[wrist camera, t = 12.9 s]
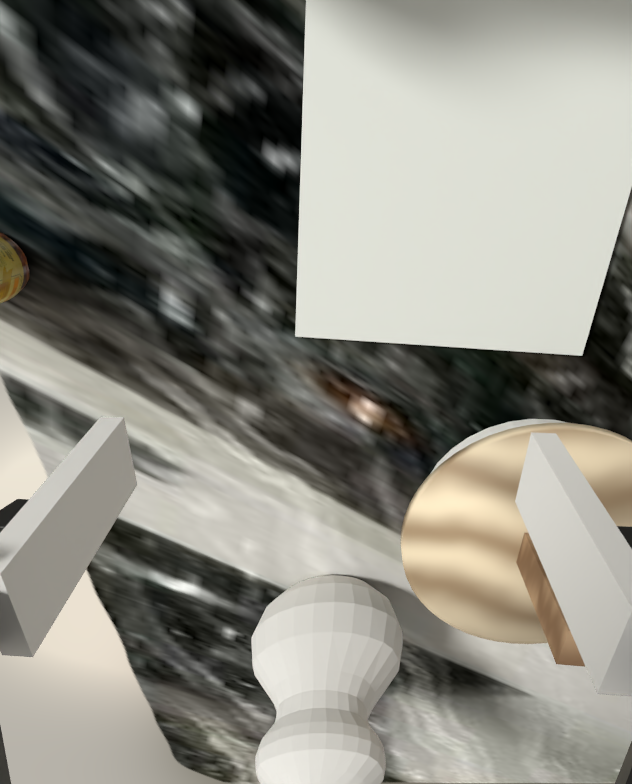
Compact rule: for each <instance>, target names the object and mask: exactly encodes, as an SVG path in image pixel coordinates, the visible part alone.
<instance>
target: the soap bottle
mask: <svg viewBox="0 0 632 784" xmlns="http://www.w3.org/2000/svg"><path fill="white" fill-rule="evenodd" d="M251 639H252V662H253V669H254V674H255V676H256V678H257V679H258V681H259V682H260V684H261V685H262V687H263V688H264V690H265V691H266V693H267V694H268V696H269V697H270V699H271V700H272V702H273V703H274V705H275V708H276V711H277V715H276V720H275V723H274V725H273V726H272V727H271V728H270V730H269V731H268V732H267V733H266V735H265V736H264V737H263V738H262V741H261V743H260V745H259V748H258V751H257V754H256V757H255V760H256V773H257V777H258V780H259V781H260V783H261V784H381V782H382V781H383V779H384V773H385V767H386V762H385V754H384V749H383V745H382V743H381V741H380V739H379V737H378V736H377V734H376V733H375V732H374V731H373V729H372V728H371V727H370V726H369V723H368V717H369V715H370V713H371V711H372V709H373V707H374V706H375V704H376V703H377V701H378V700H379V699H380V697H381V696H382V694H383V693H384V691H385V690H386V688H387V687H388V686H389V684H390V683H391V681H392V680H393V678H394V677H395V676H396V674H397V673H398V671H399V666H400V659H401V653H402V646H403V631H402V629H401V626H400V624H399V622H398V619H397V617H396V614H395V612H394V610H393V607H392V605H391V603H390V601H389V599H388V598H387V597H385V596H384V595H383V594H381V593H380V592H379V591H377V590H376V589H374V588H373V587H371V586H370V585H368V584H367V583H366V582H364V581H362V580H359V579H357V578H354V577H348V576H340V575H325V576H318V577H313V578H309V579H306V580H303V581H301V582H298V583H296V584H295V585H293V586H291V587H290V588H288V589H287V590H286V591H285V592H283V593H282V594H281V595H280V596H278V597H277V598H276V599H275V600H274V601H272V602H271V603H270V604H269V605H268V606H267V607H266V609H265V611H264V613H263V615H262V617H261V619H260V621H259V623H258V625H257V627H256V629H255V632H254V634H253V636H252V638H251Z"/></svg>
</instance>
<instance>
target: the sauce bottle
mask: <svg viewBox="0 0 632 784" xmlns="http://www.w3.org/2000/svg"><path fill="white" fill-rule="evenodd" d="M29 272H30V271H29V268H28V262H27V258H26V256H25V254H24V252H23V251H22V250H21V248H20V247H19V246H18V245H17V244H16V243H15V242H14V241H12V239H11V238H8V237H7V236H6V235H5V234H3V233H0V303H2V302H5V301H7V300H9V299H11V298H13V297H14V296H15V295H16V294H18V293H19V292H20V291H21V290H22V289H23V288H24V286H25V285H26V283H27V281H28V280H29Z"/></svg>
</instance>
